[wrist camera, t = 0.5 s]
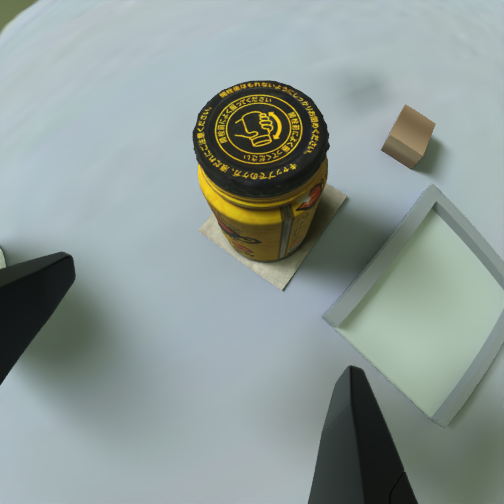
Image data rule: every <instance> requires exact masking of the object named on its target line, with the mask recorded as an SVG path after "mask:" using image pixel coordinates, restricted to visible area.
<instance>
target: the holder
mask: <svg viewBox="0 0 504 504" xmlns="http://www.w3.org/2000/svg"><path fill="white" fill-rule="evenodd" d="M322 318H323V319H324V320H325V321H326V322H327V323H329V324H330V325H331V326H332V327H333V328H334V329H335V330H336V331H337V332H338V333H339V334H340V335H341V336H342V337H343V338H345V339H346V340H347V341H348V342H349V343H350V344H351V345H352V346H353V347H354V348H355V349H356V350H357V351H358V352H359V353H361V354H362V355H363V356H364V357H365V358H366V359H367V360H368V361H369V362H370V363H371V364H372V365H373V366H374V367H375V368H377V369H378V370H379V371H380V372H381V373H382V374H383V375H384V376H385V377H386V378H387V379H388V380H389V381H390V382H391V383H393V384H394V385H395V386H396V387H397V388H398V389H399V390H400V391H401V392H402V393H403V394H404V395H405V396H406V397H407V398H409V399H410V400H411V401H412V402H413V403H414V404H415V405H416V406H417V407H418V408H419V409H420V410H421V411H422V412H423V413H425V414H426V415H427V416H428V417H429V418H430V419H431V420H432V421H433V422H434V423H436V424H438V425H439V426H441V427H443V428H446V426H447V425H448V424H449V423H450V421H451V420H452V419H453V418H454V416H455V415H456V414H457V412H458V411H459V410H460V408H461V407H462V406H463V404H464V403H465V402H466V400H467V399H468V398H469V396H470V395H471V393H472V392H473V390H474V389H475V388H476V386H477V385H478V383H479V382H480V380H481V379H482V377H483V376H484V374H485V373H486V371H487V369H488V368H489V366H490V365H491V363H492V361H493V360H494V358H495V356H496V355H497V353H498V351H499V350H500V348H501V346H502V344H503V343H504V262H503V261H502V259H501V258H500V257H499V256H498V254H497V253H496V252H495V251H494V249H493V248H492V247H491V246H490V245H489V243H488V242H487V241H486V240H485V239H484V237H483V236H482V235H481V234H480V233H479V232H478V230H477V229H476V228H475V227H474V226H473V225H472V224H471V223H470V221H469V220H468V219H467V218H466V217H465V216H464V215H463V214H462V213H461V212H460V211H459V210H458V208H457V207H456V206H455V205H454V204H453V203H452V202H451V201H450V200H449V199H448V198H447V197H446V196H445V195H444V194H443V193H442V192H441V191H440V190H439V189H438V188H437V187H436V186H435V185H434V184H432V185H430V186H429V187H428V188H427V189H426V190H425V191H424V192H423V193H422V194H421V196H420V197H419V199H418V200H417V201H416V203H415V204H414V205H413V207H412V208H411V209H410V211H409V212H408V213H407V215H406V216H405V217H404V219H403V220H402V221H401V223H400V224H399V225H398V227H397V228H396V229H395V230H394V232H393V233H392V234H391V236H390V237H389V238H388V239H387V241H386V242H385V243H384V244H383V246H382V247H381V248H380V249H379V251H378V252H377V253H376V254H375V256H374V257H373V258H372V259H371V260H370V262H369V263H368V264H367V265H366V266H365V268H364V269H363V270H362V271H361V272H360V274H359V275H358V276H357V277H356V278H355V280H354V281H353V282H352V283H351V284H350V285H349V287H348V288H347V289H346V290H345V291H344V292H343V293H342V295H341V296H340V297H339V298H338V299H337V300H336V301H335V303H334V304H333V305H332V306H331V307H330V308H329V309H328V310H327V311H326V313H325V314H324V315H323V316H322Z"/></svg>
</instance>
